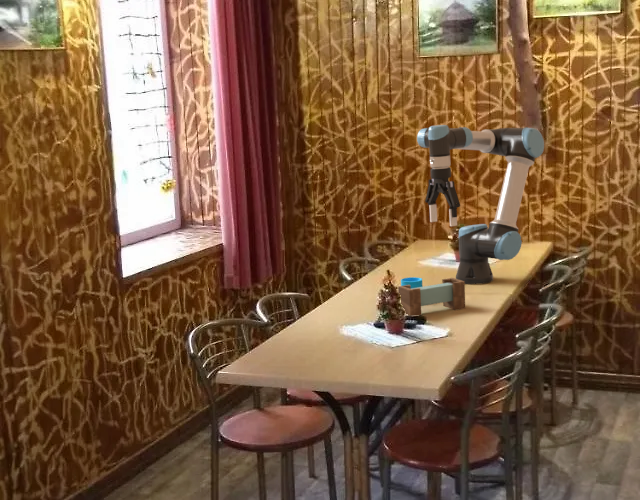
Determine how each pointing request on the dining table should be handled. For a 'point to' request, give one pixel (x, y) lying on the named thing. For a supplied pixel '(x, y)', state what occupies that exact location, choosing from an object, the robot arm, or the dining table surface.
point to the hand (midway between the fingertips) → (443, 223)
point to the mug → (412, 282)
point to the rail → (436, 293)
